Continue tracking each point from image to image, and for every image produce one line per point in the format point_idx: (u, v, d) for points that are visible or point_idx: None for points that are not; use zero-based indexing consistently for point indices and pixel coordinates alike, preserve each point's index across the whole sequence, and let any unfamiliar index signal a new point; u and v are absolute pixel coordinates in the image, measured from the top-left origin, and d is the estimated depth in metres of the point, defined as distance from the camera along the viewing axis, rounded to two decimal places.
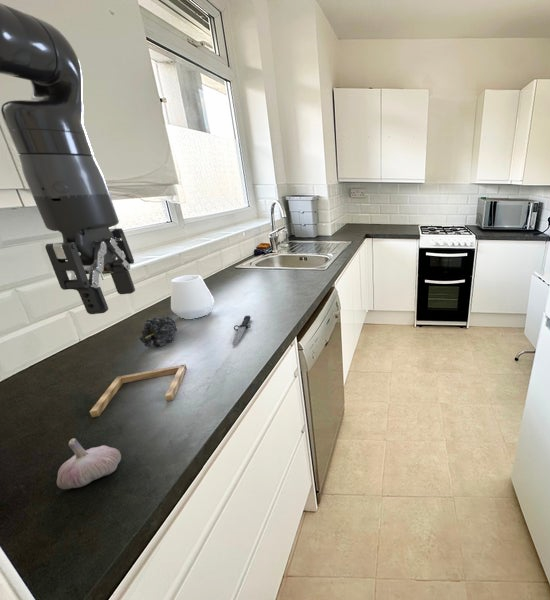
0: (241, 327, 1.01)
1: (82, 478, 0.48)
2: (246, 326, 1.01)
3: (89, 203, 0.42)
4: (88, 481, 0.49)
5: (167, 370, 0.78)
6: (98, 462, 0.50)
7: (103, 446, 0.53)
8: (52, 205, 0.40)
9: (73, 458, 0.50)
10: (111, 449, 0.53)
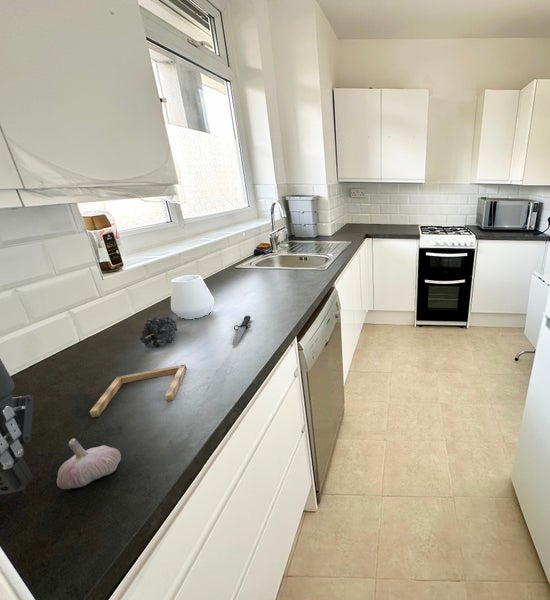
0: (241, 327, 1.01)
1: (82, 478, 0.48)
2: (246, 326, 1.01)
3: None
4: (88, 481, 0.49)
5: (167, 370, 0.78)
6: (98, 462, 0.50)
7: (103, 446, 0.53)
8: None
9: (73, 458, 0.50)
10: (111, 449, 0.53)
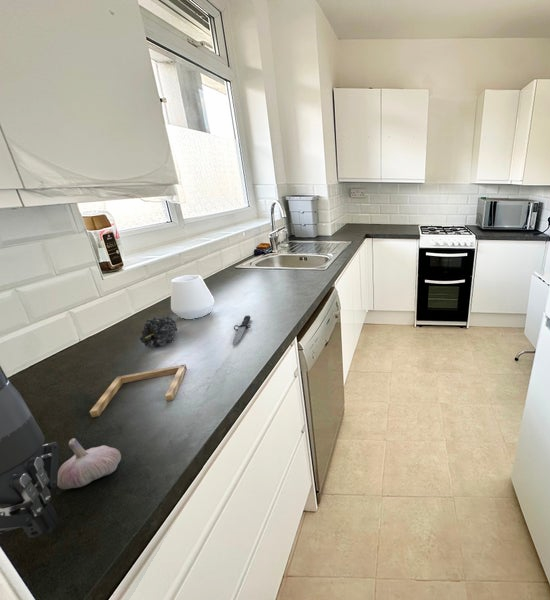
0: (241, 327, 1.01)
1: (82, 478, 0.48)
2: (246, 326, 1.01)
3: (1, 447, 0.34)
4: (88, 481, 0.49)
5: (167, 370, 0.78)
6: (98, 462, 0.50)
7: (103, 446, 0.53)
8: None
9: (73, 458, 0.50)
10: (111, 449, 0.53)
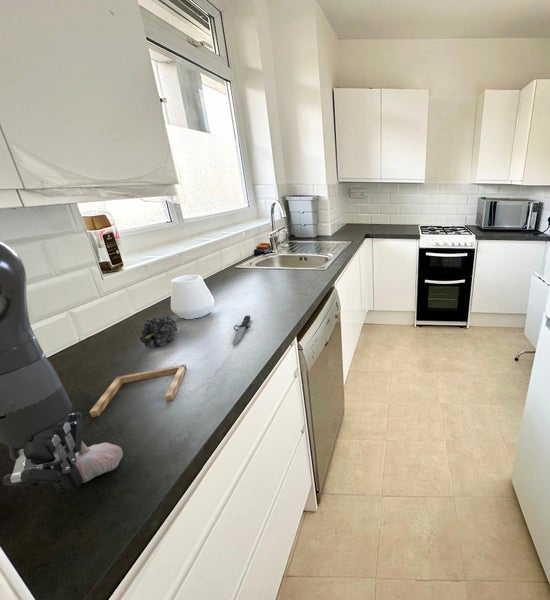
0: (241, 327, 1.01)
1: (85, 474, 0.49)
2: (246, 326, 1.01)
3: (38, 409, 0.40)
4: (90, 477, 0.50)
5: (167, 370, 0.78)
6: (100, 458, 0.50)
7: (105, 443, 0.54)
8: None
9: None
10: (113, 446, 0.53)
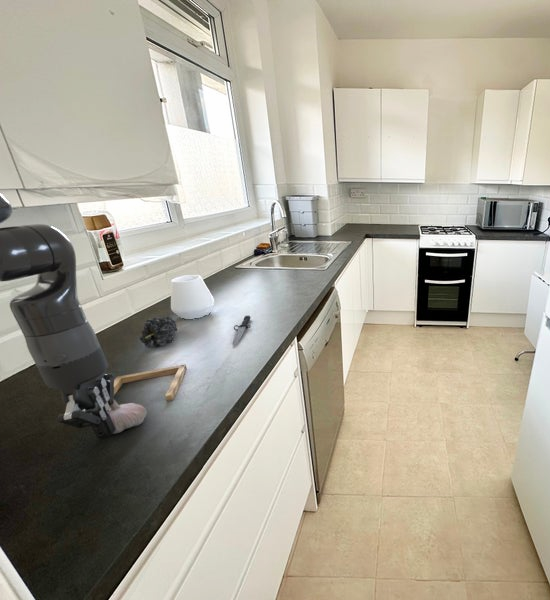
0: (241, 327, 1.01)
1: (117, 426, 0.58)
2: (246, 326, 1.01)
3: (83, 362, 0.50)
4: (121, 429, 0.59)
5: (167, 370, 0.78)
6: (129, 413, 0.60)
7: (131, 403, 0.63)
8: (53, 372, 0.48)
9: None
10: (138, 405, 0.63)
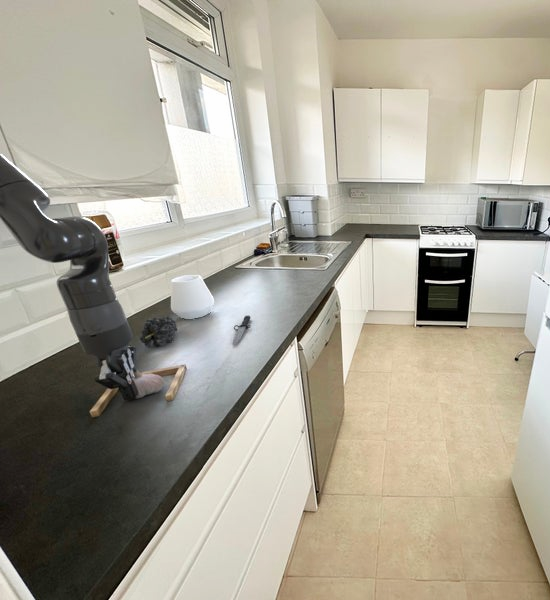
0: (241, 327, 1.01)
1: (139, 391, 0.68)
2: (246, 326, 1.01)
3: (115, 333, 0.59)
4: (143, 394, 0.69)
5: (167, 370, 0.78)
6: (149, 381, 0.70)
7: (151, 373, 0.73)
8: (90, 339, 0.57)
9: None
10: (157, 375, 0.73)
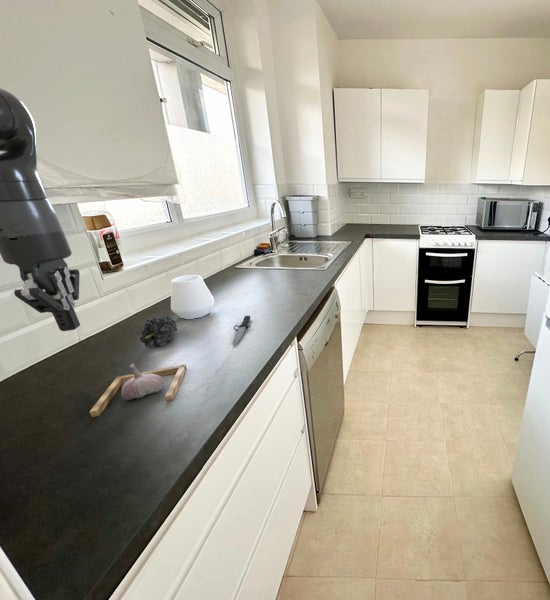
0: (241, 327, 1.01)
1: (140, 391, 0.68)
2: (246, 326, 1.01)
3: (43, 240, 0.48)
4: (143, 394, 0.69)
5: (167, 370, 0.78)
6: (149, 381, 0.70)
7: (151, 373, 0.73)
8: (10, 243, 0.46)
9: (132, 379, 0.70)
10: (157, 375, 0.73)
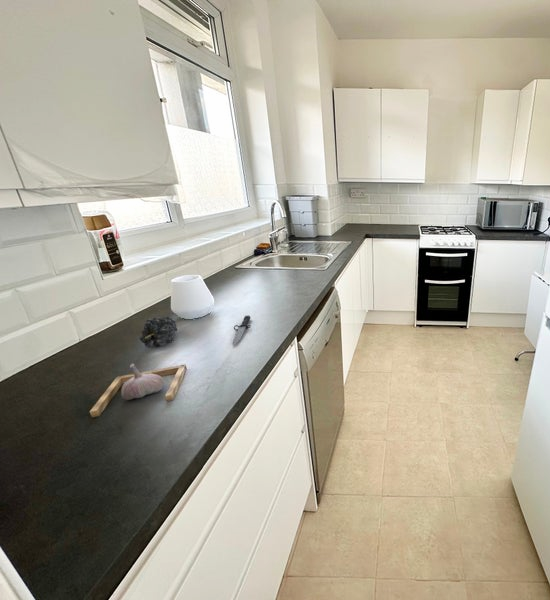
0: (241, 327, 1.01)
1: (140, 391, 0.68)
2: (246, 326, 1.01)
3: None
4: (143, 394, 0.69)
5: (167, 370, 0.78)
6: (149, 381, 0.70)
7: (151, 373, 0.73)
8: None
9: (132, 379, 0.70)
10: (157, 375, 0.73)
